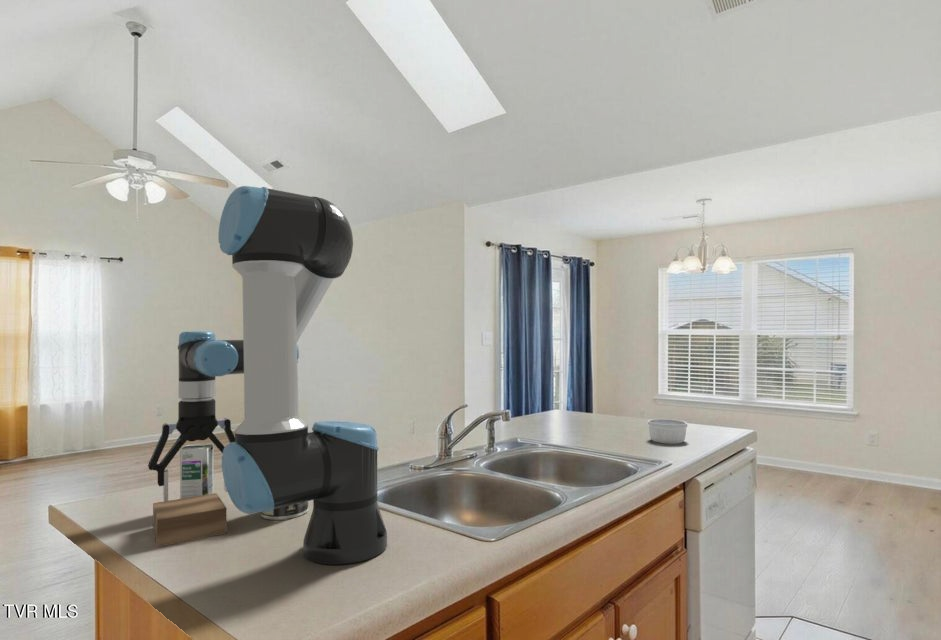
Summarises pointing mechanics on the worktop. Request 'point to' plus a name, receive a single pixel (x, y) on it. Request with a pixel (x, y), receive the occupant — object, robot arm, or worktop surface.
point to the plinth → (188, 519)
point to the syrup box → (196, 470)
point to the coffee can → (286, 512)
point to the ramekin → (667, 430)
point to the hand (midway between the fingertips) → (197, 495)
